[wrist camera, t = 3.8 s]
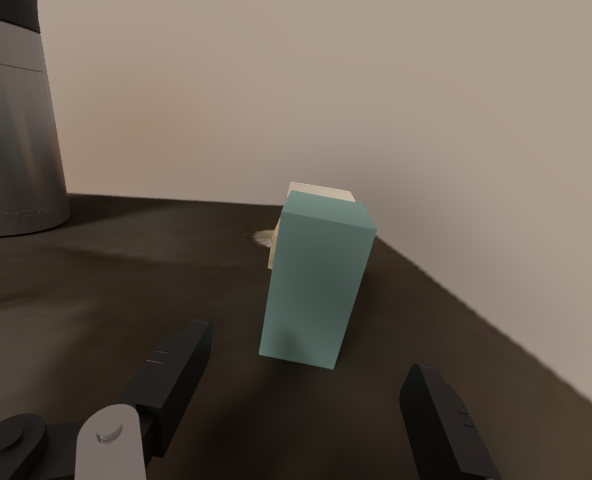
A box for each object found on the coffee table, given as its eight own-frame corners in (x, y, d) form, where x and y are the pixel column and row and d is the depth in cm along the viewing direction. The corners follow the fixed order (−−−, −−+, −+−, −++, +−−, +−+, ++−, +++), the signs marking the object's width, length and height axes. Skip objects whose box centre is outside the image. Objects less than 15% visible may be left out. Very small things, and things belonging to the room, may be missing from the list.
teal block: (258, 354, 18) (281, 211, 14) (271, 308, 23) (291, 190, 19) (333, 369, 18) (376, 229, 14) (331, 319, 23) (363, 203, 19)
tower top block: (280, 235, 27) (286, 196, 26) (285, 213, 34) (291, 181, 32) (349, 246, 28) (360, 208, 26) (341, 222, 34) (349, 191, 33)
